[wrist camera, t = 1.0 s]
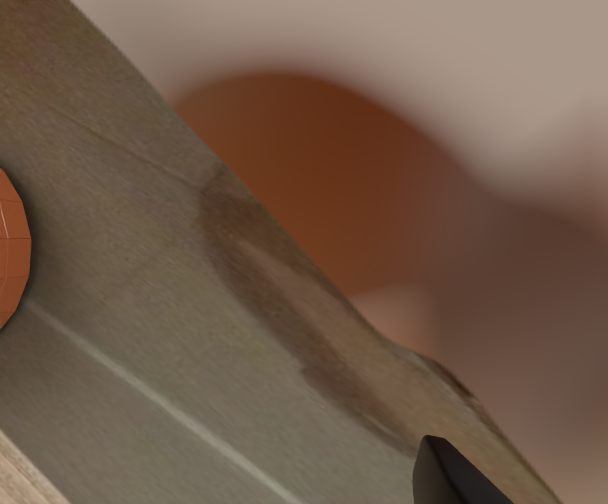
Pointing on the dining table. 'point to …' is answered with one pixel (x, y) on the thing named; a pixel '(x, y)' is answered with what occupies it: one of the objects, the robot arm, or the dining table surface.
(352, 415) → the dining table surface
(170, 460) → the dining table surface
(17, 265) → the bowl
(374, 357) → the dining table surface
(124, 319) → the dining table surface
